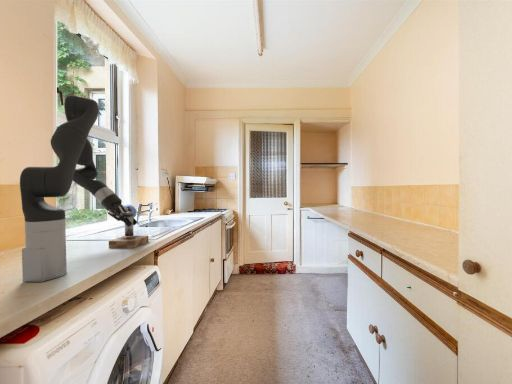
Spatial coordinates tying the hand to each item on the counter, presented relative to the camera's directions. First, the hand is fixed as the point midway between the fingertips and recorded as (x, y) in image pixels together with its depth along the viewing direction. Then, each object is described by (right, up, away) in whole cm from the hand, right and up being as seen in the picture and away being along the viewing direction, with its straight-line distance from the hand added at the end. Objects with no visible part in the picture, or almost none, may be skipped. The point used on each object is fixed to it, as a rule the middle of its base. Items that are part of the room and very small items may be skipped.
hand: (133, 224), depth 112 cm
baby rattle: (-10, -10, +14) cm, 20 cm away
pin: (-2, -5, 0) cm, 6 cm away
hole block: (-2, -10, 0) cm, 10 cm away
